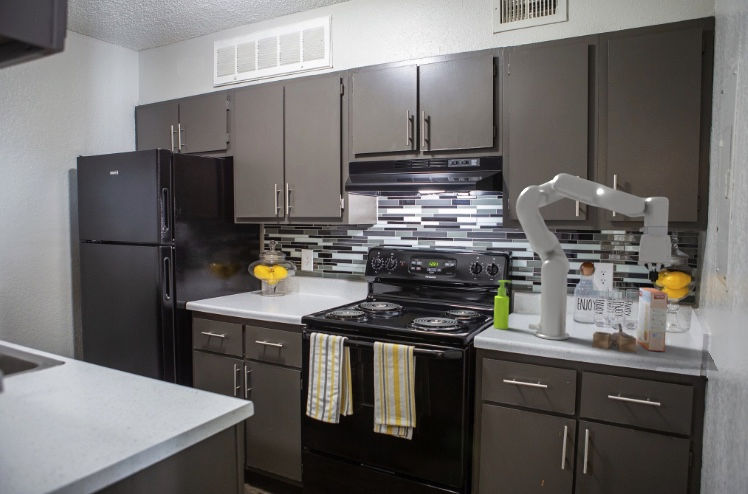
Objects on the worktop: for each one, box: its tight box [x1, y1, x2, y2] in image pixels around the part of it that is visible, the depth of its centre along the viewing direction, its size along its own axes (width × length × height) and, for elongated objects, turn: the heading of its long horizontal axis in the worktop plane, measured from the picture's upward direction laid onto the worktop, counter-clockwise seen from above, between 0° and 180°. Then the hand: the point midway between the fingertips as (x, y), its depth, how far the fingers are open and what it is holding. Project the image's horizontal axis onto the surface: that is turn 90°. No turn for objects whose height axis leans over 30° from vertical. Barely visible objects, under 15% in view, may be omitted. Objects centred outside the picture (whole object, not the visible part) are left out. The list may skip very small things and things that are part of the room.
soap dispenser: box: [493, 279, 513, 330], centre depth 224 cm, size 6×7×20 cm
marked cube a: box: [616, 334, 637, 354], centre depth 189 cm, size 5×5×5 cm
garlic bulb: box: [611, 322, 629, 346], centre depth 198 cm, size 8×7×8 cm
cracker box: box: [636, 287, 669, 352], centre depth 194 cm, size 14×6×21 cm, turn 168°
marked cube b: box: [592, 331, 612, 350], centre depth 193 cm, size 5×5×5 cm
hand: (653, 282), depth 193 cm, fingers closed
